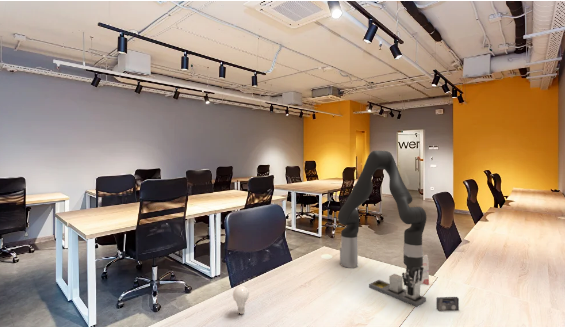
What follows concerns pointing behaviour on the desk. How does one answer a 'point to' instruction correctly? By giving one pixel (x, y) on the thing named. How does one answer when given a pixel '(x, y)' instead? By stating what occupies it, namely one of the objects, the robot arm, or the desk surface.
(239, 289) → the lightbulb
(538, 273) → the desk surface
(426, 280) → the ink cartridge box
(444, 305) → the mini dv tape
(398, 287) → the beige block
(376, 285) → the rail
